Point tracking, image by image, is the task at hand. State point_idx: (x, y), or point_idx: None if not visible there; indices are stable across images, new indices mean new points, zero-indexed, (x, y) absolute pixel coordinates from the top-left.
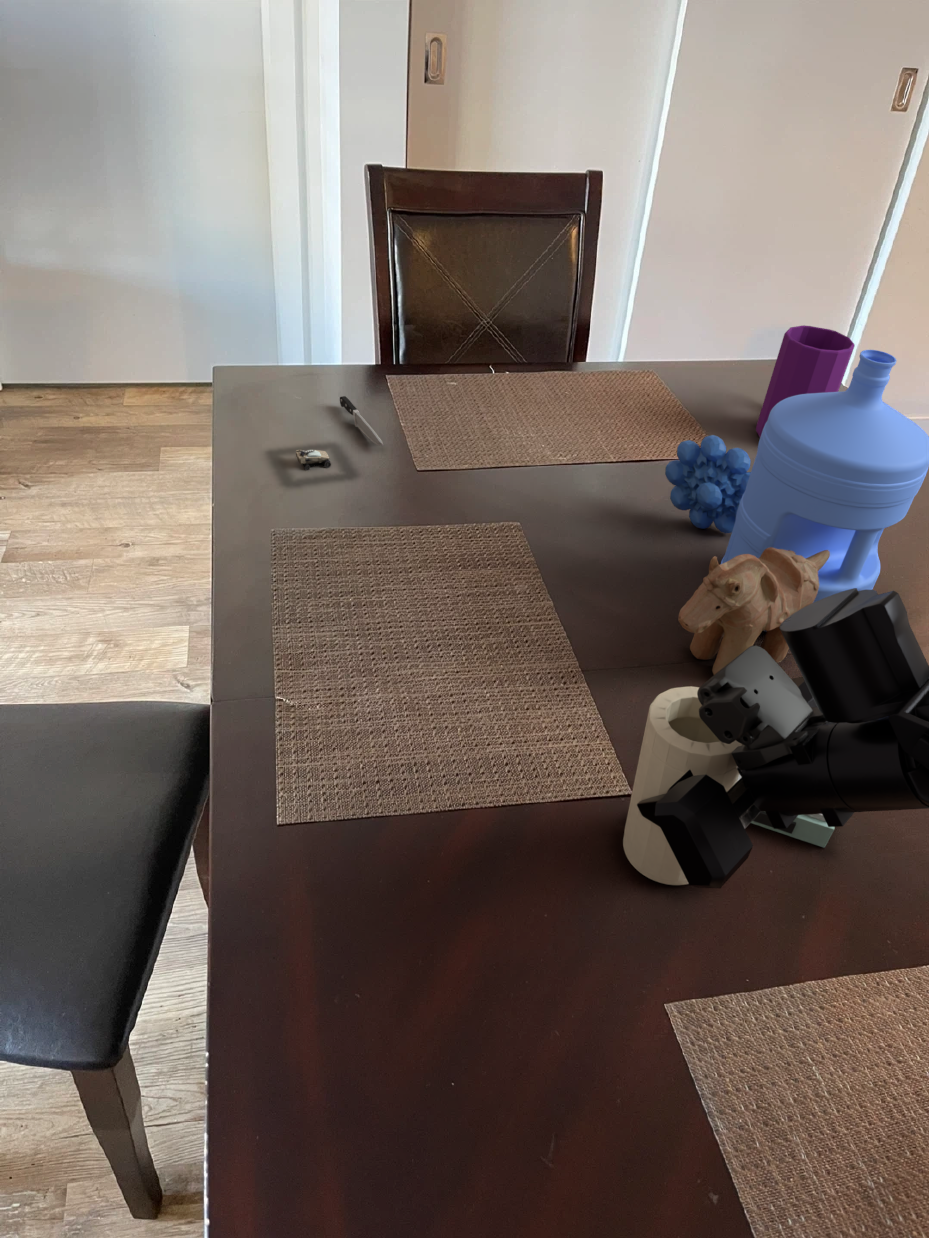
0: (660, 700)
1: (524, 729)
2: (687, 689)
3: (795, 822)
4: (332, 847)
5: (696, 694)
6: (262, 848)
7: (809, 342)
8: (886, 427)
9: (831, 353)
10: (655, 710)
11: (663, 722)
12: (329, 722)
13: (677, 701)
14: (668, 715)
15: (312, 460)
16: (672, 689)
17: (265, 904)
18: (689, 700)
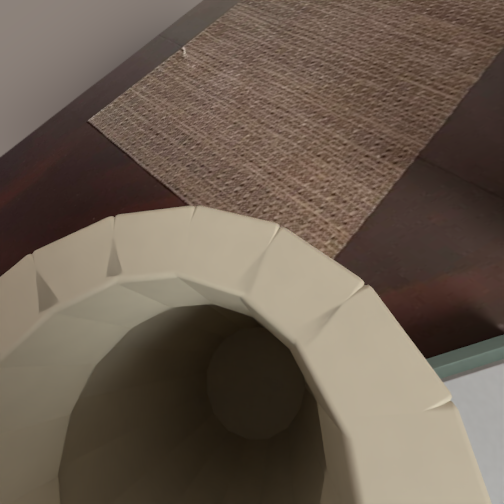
0: (160, 229)
1: (292, 169)
2: (330, 287)
3: None
4: (87, 154)
5: (332, 352)
6: (66, 128)
7: None
8: None
9: None
10: (90, 246)
11: (17, 315)
12: (185, 79)
13: (215, 291)
14: (190, 296)
15: None
16: (269, 230)
17: (29, 158)
18: (280, 335)
